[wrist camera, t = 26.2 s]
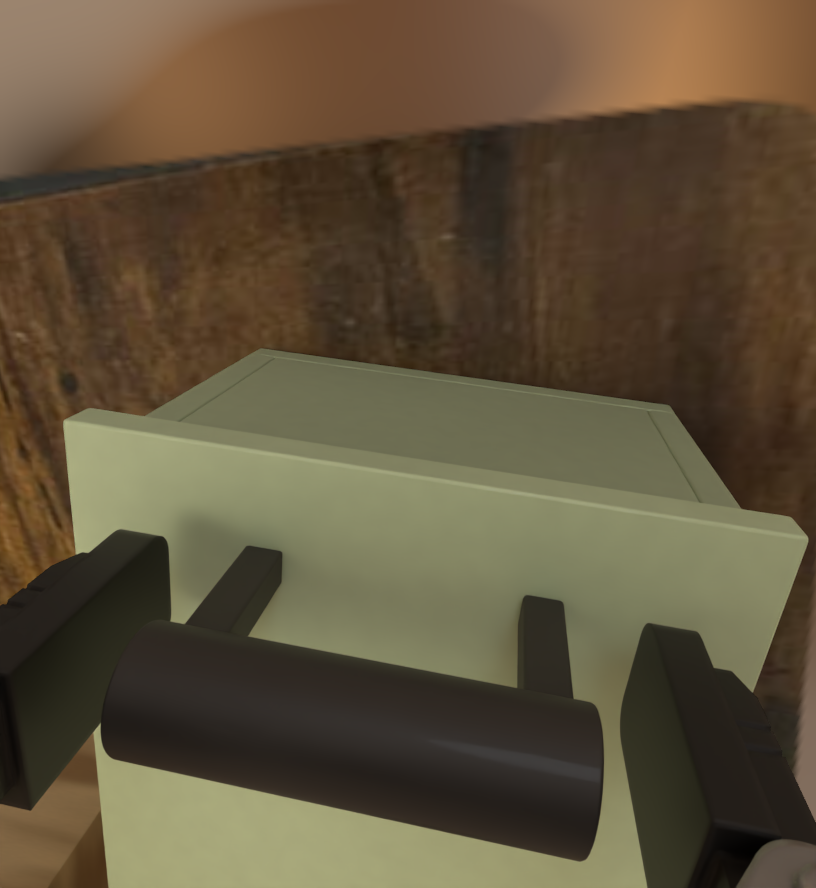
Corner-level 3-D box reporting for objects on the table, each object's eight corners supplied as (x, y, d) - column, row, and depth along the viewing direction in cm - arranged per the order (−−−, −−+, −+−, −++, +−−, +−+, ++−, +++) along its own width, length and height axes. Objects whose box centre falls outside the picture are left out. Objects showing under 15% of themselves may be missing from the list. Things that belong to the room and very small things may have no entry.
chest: (260, 347, 21) (92, 445, 13) (670, 404, 19) (777, 557, 11) (253, 726, 26) (135, 961, 18) (569, 792, 25) (592, 1078, 17)
